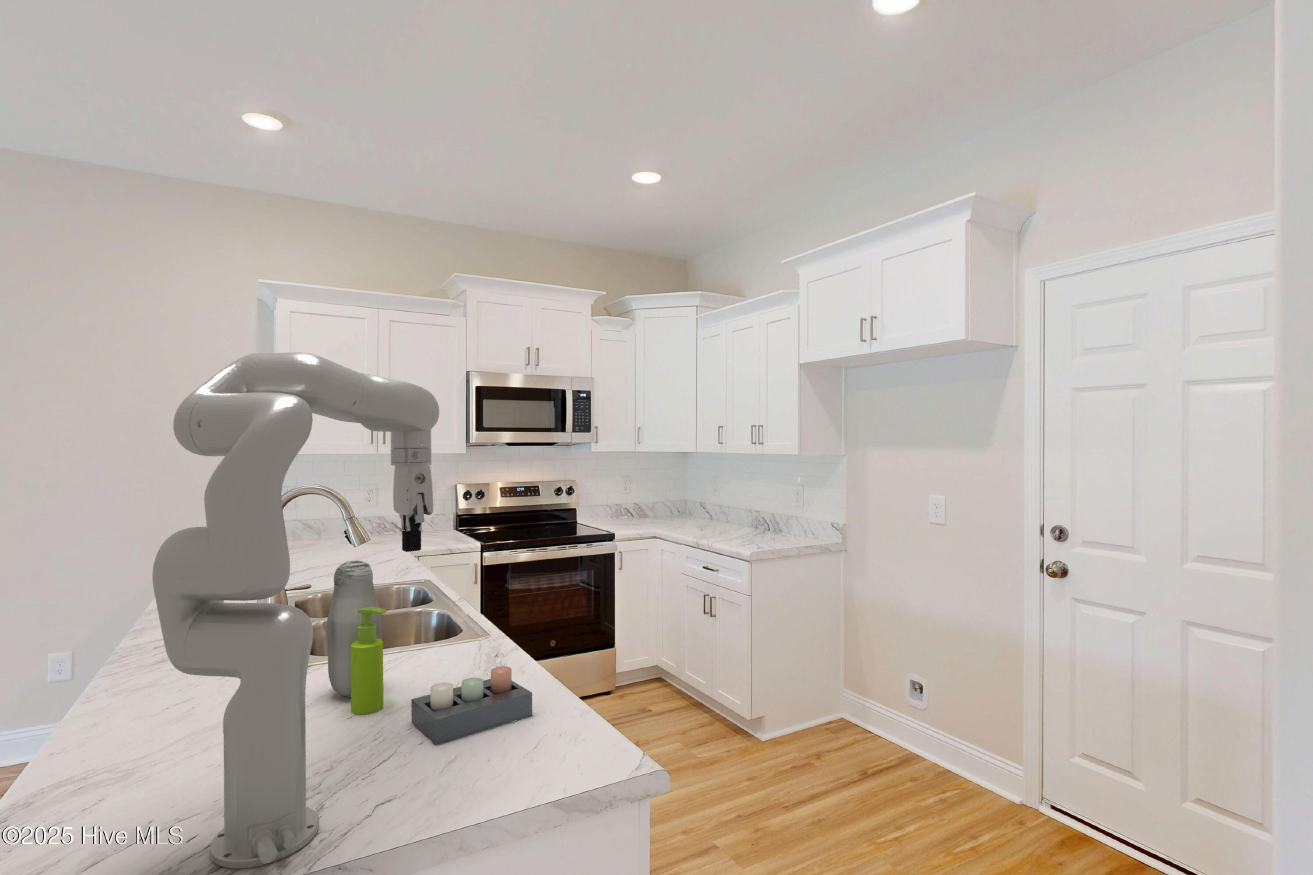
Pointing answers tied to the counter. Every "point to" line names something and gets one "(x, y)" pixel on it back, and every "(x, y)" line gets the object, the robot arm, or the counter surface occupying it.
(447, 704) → the cream rounded cylinder
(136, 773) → the counter surface
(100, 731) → the counter surface
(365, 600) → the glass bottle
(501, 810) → the counter surface
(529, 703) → the gray socket block
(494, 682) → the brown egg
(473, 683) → the green piece
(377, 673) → the soap dispenser
